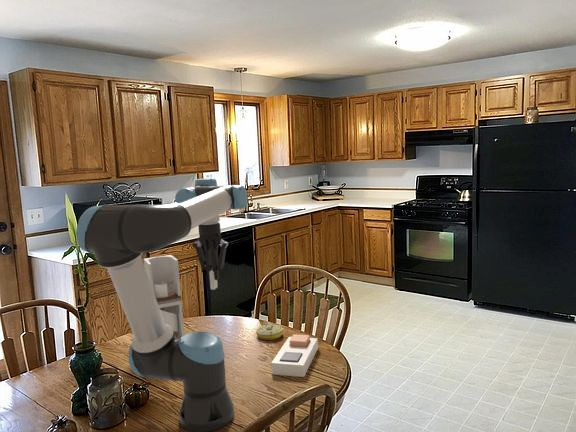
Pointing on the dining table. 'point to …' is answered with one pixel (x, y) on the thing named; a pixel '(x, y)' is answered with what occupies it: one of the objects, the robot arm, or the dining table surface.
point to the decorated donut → (269, 332)
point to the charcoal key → (291, 357)
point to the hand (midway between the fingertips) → (214, 288)
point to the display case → (167, 290)
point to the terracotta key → (300, 340)
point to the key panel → (295, 367)
